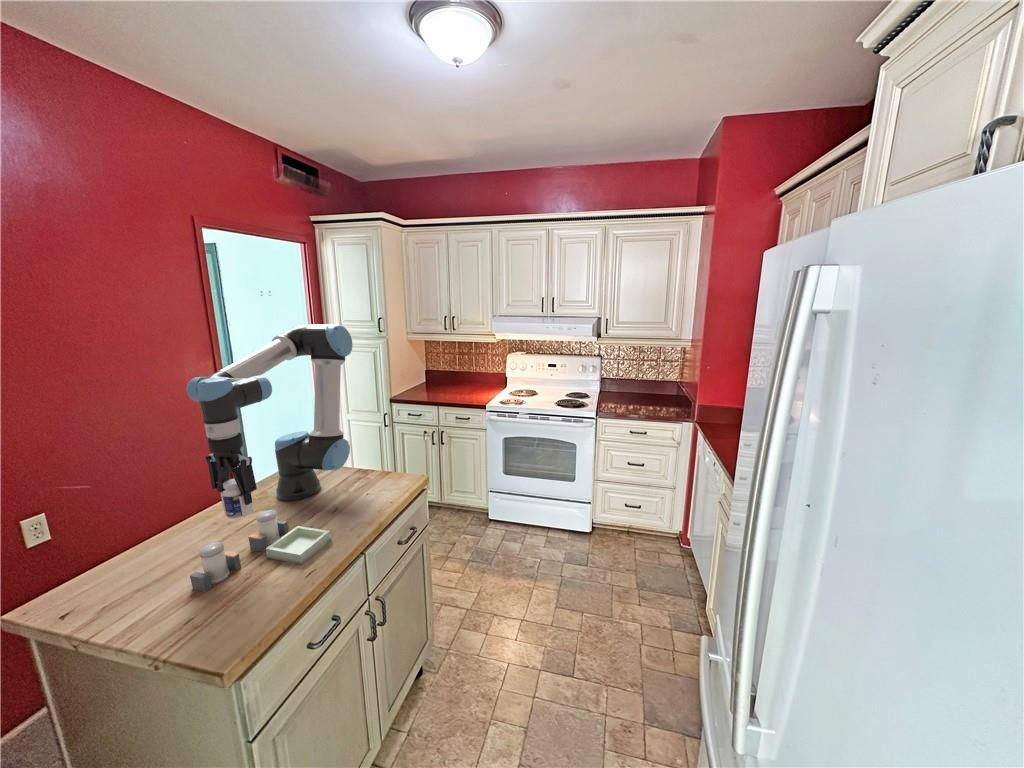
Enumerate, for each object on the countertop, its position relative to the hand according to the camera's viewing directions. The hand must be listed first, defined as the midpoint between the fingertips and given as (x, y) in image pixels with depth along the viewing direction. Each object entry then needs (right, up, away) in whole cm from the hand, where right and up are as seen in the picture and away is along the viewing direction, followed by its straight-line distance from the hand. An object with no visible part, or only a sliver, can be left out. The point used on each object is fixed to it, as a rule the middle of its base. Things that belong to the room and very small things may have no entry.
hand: (238, 512), depth 112 cm
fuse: (+2, -12, +11) cm, 17 cm away
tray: (+14, -13, +7) cm, 20 cm away
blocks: (0, -14, +3) cm, 14 cm away
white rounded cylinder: (-2, -16, -5) cm, 17 cm away
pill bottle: (0, -1, 0) cm, 1 cm away
